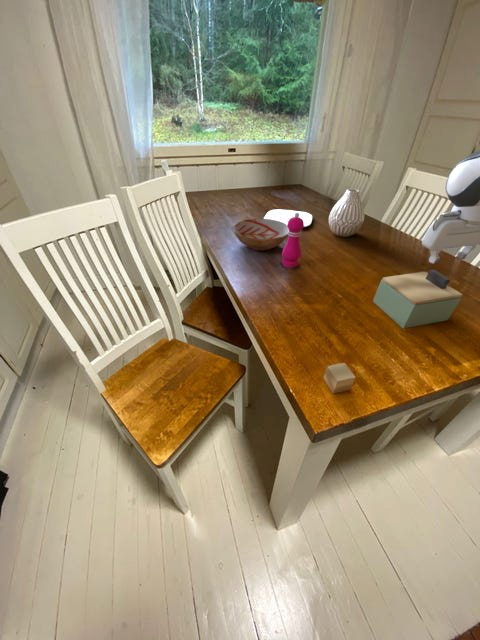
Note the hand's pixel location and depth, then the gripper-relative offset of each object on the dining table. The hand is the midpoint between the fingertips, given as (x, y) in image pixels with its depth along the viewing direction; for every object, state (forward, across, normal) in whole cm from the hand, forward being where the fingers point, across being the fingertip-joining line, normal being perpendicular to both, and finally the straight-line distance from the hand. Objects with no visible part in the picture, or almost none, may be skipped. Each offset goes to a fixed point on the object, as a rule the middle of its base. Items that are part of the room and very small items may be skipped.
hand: (446, 260), depth 76 cm
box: (+16, -5, 0) cm, 17 cm away
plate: (+17, -10, +86) cm, 88 cm away
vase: (+17, +9, +62) cm, 65 cm away
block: (+16, -42, -20) cm, 49 cm away
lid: (+8, -5, 0) cm, 10 cm away
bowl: (+17, -35, +58) cm, 70 cm away
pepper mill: (+17, -29, +38) cm, 50 cm away
